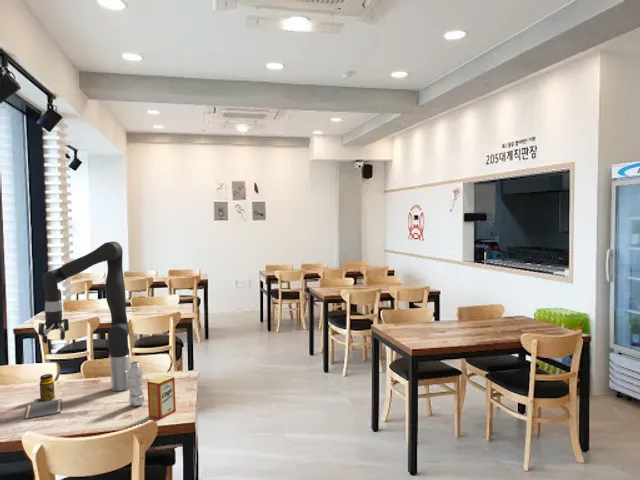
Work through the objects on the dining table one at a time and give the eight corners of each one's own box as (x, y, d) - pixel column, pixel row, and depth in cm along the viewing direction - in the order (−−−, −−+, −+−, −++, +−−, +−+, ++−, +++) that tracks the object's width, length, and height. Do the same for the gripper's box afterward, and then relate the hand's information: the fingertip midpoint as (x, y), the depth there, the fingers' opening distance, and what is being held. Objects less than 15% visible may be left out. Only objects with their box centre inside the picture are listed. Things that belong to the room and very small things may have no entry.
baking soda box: (164, 409, 221) (163, 374, 220) (175, 411, 218) (174, 376, 217) (148, 417, 212) (147, 381, 212) (160, 419, 210) (158, 383, 209)
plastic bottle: (147, 403, 229) (145, 361, 228) (137, 408, 222) (135, 365, 221) (136, 401, 231) (134, 360, 230) (126, 407, 224) (124, 364, 223)
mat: (27, 405, 229) (27, 404, 229) (61, 400, 236) (61, 398, 236) (24, 419, 213) (24, 418, 213) (60, 413, 220) (60, 411, 220)
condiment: (56, 400, 236) (54, 375, 235) (36, 404, 231) (34, 379, 231) (54, 395, 242) (53, 372, 241) (35, 399, 237) (33, 375, 237)
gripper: (43, 312, 238) (43, 345, 239) (71, 308, 250) (71, 339, 251) (35, 310, 242) (35, 343, 243) (63, 306, 254) (63, 337, 255)
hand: (53, 341), depth 247 cm, fingers open, 8 cm apart
